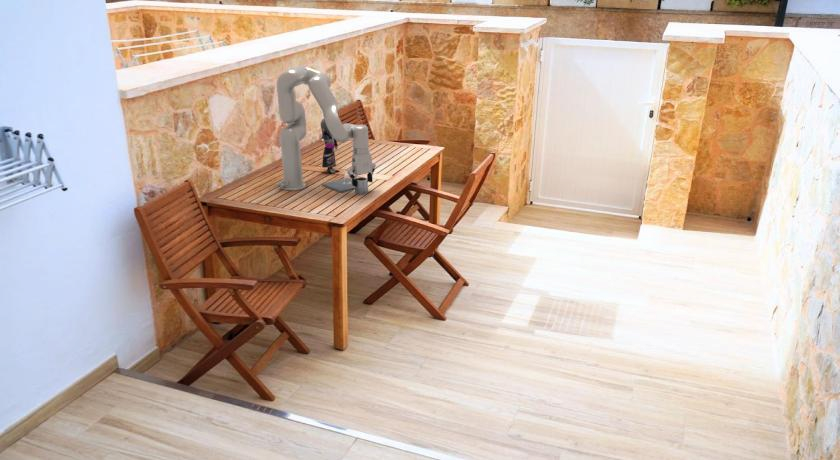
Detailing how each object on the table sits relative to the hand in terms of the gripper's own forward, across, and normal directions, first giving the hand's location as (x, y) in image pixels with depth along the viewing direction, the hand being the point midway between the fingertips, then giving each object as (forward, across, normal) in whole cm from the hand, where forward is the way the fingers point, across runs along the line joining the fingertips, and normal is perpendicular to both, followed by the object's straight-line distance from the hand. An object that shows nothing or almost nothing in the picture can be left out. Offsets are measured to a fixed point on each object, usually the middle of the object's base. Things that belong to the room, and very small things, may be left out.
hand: (362, 184), depth 336 cm
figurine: (+4, +7, +38) cm, 38 cm away
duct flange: (+4, 0, +15) cm, 15 cm away
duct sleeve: (+4, 0, +1) cm, 5 cm away
